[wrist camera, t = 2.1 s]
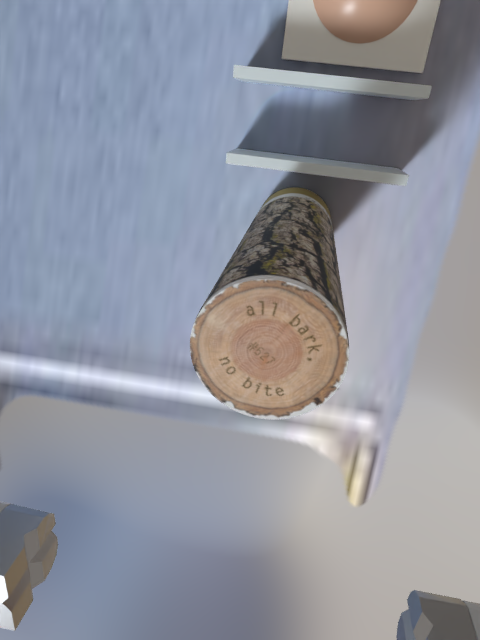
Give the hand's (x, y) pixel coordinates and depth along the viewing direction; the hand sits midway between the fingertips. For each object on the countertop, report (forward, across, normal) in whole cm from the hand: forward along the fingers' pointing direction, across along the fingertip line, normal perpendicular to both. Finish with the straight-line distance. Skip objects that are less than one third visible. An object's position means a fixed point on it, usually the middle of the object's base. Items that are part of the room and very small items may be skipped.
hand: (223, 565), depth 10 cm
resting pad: (+35, -2, -19) cm, 39 cm away
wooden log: (+35, 0, 0) cm, 35 cm away
